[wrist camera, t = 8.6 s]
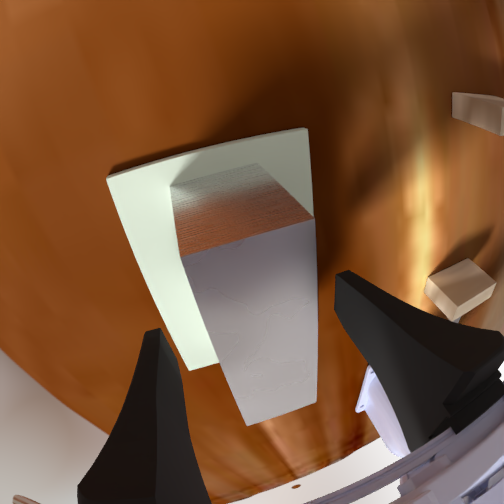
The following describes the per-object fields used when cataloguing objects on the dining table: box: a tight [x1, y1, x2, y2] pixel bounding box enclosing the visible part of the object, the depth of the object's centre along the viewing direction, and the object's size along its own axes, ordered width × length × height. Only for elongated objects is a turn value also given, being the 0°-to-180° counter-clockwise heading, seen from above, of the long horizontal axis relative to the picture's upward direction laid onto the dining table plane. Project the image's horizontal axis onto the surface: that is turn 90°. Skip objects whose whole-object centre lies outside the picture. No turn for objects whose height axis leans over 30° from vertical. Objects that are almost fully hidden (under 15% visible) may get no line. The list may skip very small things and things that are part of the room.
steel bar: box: [170, 163, 318, 426], centre depth 13 cm, size 10×4×5 cm, turn 8°
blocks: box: [424, 92, 504, 323], centre depth 17 cm, size 17×5×4 cm, turn 7°
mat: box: [106, 127, 314, 371], centre depth 15 cm, size 12×8×1 cm, turn 7°
